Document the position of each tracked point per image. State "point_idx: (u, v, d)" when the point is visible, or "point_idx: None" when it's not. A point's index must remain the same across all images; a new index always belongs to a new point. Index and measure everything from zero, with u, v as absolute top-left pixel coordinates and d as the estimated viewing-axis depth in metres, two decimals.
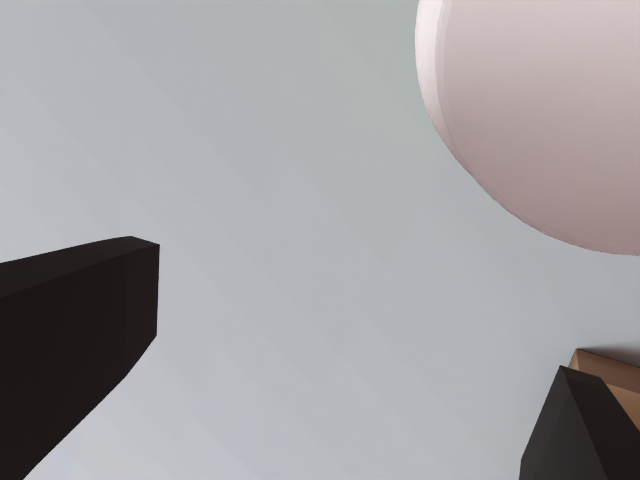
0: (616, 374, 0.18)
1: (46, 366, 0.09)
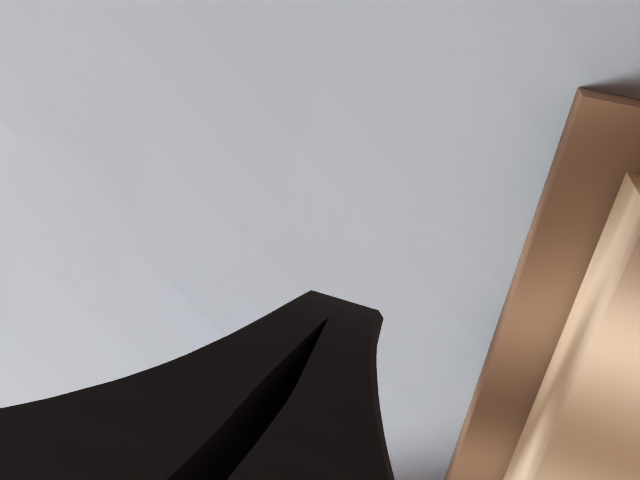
0: (629, 101, 0.15)
1: None
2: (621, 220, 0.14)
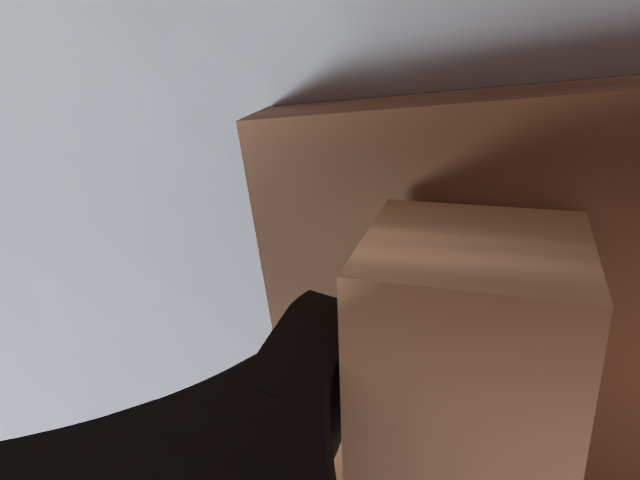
0: (311, 108, 0.10)
1: None
2: None
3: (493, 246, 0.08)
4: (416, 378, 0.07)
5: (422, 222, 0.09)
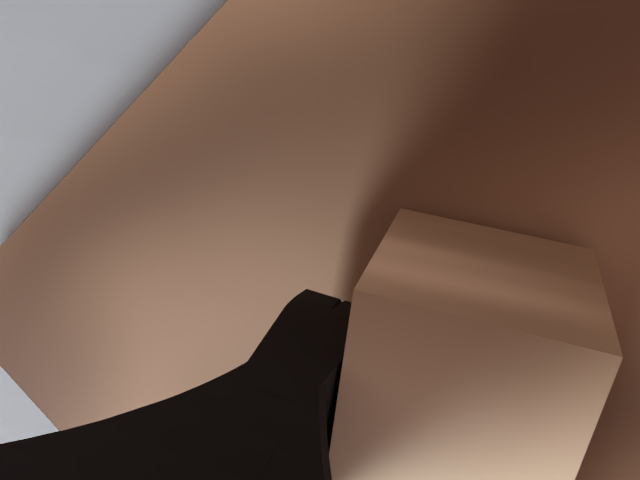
0: None
1: None
2: None
3: (506, 275, 0.08)
4: (416, 397, 0.07)
5: (436, 238, 0.09)
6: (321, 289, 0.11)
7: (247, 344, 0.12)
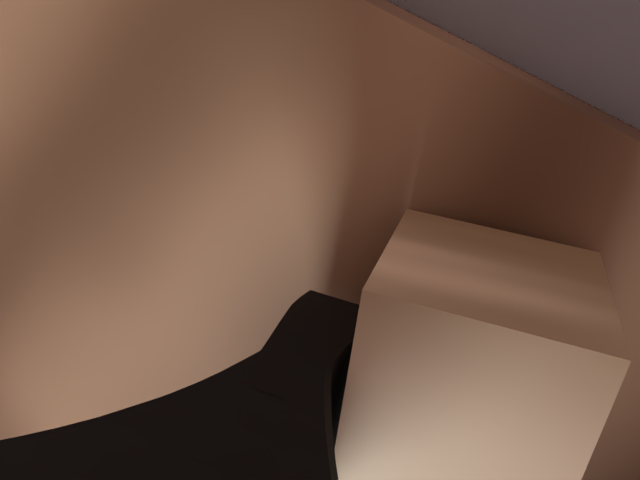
0: None
1: None
2: None
3: (514, 277, 0.08)
4: (422, 398, 0.07)
5: (443, 240, 0.09)
6: (130, 327, 0.13)
7: (112, 396, 0.14)
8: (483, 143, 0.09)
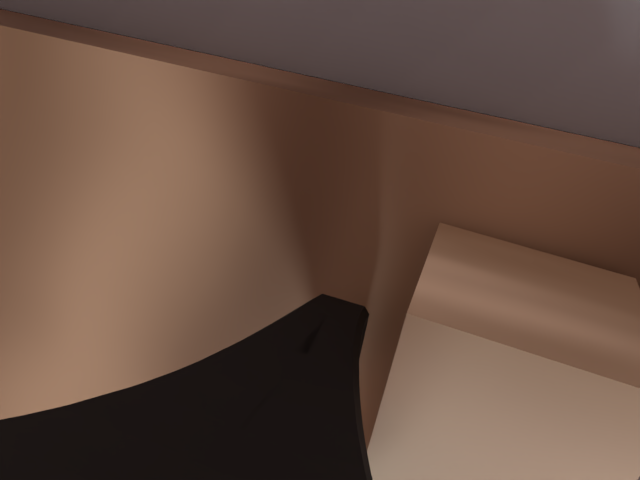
0: None
1: None
2: None
3: (555, 304, 0.08)
4: (459, 424, 0.07)
5: (479, 258, 0.08)
6: (55, 383, 0.14)
7: None
8: (255, 144, 0.10)
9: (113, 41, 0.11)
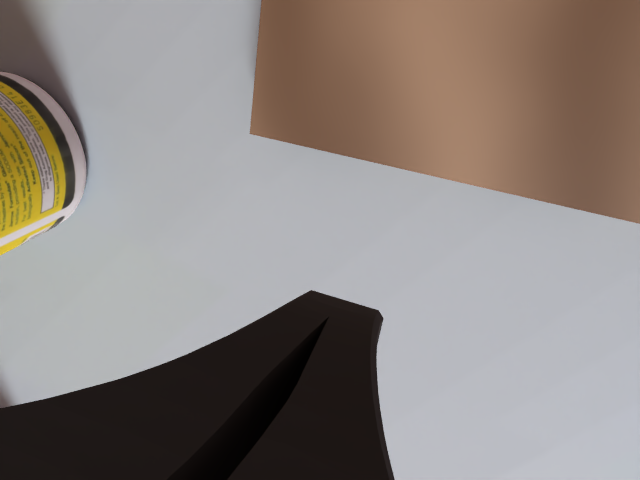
0: None
1: None
2: None
3: None
4: None
5: None
6: None
7: None
8: None
9: None
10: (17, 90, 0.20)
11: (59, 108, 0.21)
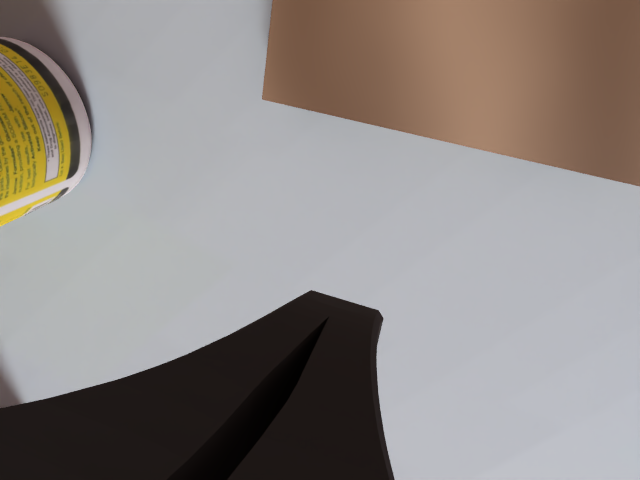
0: None
1: None
2: None
3: None
4: None
5: None
6: None
7: None
8: None
9: None
10: (22, 55, 0.19)
11: (64, 75, 0.20)
